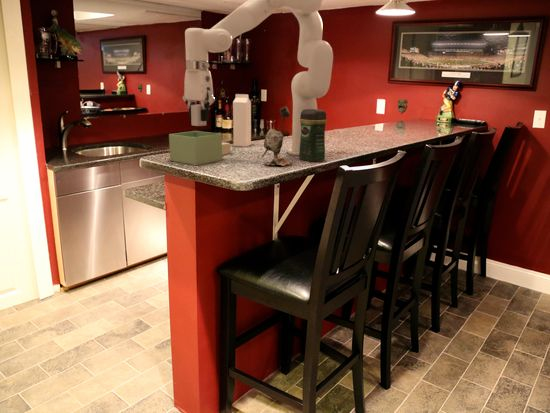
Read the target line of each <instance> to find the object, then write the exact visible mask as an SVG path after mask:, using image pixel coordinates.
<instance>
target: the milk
mask: <svg viewBox="0 0 550 413" xmlns="http://www.w3.org/2000/svg"><path fill="white" fill-rule="evenodd" d="M232 119H233V120H232V124H233V127H232V128H233V129H232V131H233V132H232V133H233V134H232V135H233V147H249V146H251V145H252V101H251V99H250V98H249V94H245V93H236V94H235V98H234V100H233V101H232Z"/></svg>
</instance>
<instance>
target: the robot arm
mask: <svg viewBox="0 0 550 413" xmlns="http://www.w3.org/2000/svg"><path fill="white" fill-rule="evenodd" d="M323 4H324V0H246V1H245V2H244V3H242V4H241V5H239V6H238V7H237V8H236V9H235V10H233V11H232V12H231V13H230V14H228V15H226V16H225V17H224V18H223V19H221V20H220V21H219V22H217V23H216V24H215V25H213V26H212V27H211V28H209V29H208V28H205V29H204V28H200V27H189V28H186V29H185V31H184V42H185V44H184V46H185V69H186V70H185V72H184V73H185V74H184V82H183V83H184V87H183V90H184V91H183V92H184V93H183V96H182V100H183V101H184V103H185V104H186V107H187V109H188V120H189V121H191V105H197V101H198V102H200V105H201V106H202V109H203V110H201V121H206V122H208V121H209V120H210V117H209V116H210V115H209V110H210V109H211V106H212V105H213V104H214V103H215V101H216V99H215V97H214V87H213V86H214V84H213V78H212V74H211V71H210V70H209V68H210V66H211V65H210V63H209V53H212V54H213V53H214V54H216V53H223V52H227V51H228V50H229V49H230V48H231V47H232V44H233V40H234V39H236V37H238V36H241V35H242V34H244V33H246V32H250V31H251V30H253V29H254V28H257V26H259V25H260V24H261V23H262V22H264V21H265V20H266V19H268V17H269V16H271V15H272V14H273V13H275V12H277V10H278V9H280V8H283V7H284V8H285V7H286V8H288V9H289V11H290V12H291V13H292V14H293V15H294V17H295V18H296V19H297V21H298V25H299V38H298V46H297V49H298V50H297V62H298V64H299V65H300V66H301V67H303V68H306V69H307V68H308V69H307V70H305V71H300V72H298V73H296V74H295V75H294V76H293V78H292V80H291V83H290V84H291V86H290V88H291V96H292V127H291V128H292V129H291V131H292V132H291V148H289V149H287V154H289V155H293V156H299V151H300V139H301V122H300V116H301V112H302V111H303V110H305V109H317V110H318V103H317V99H320V98H323V97H324V96H326V94H327V93H328V91H329V89H330V86H331V80H332V73H333V72H332V71H333V64H334V51H333V48H332V46H331V44H330V43H329V42H328V41H326V40H323V20H322V17H321V15H320V13H319V10H320V9H322V6H323Z"/></svg>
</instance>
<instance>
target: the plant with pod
mask: <svg viewBox="0 0 550 413" xmlns="http://www.w3.org/2000/svg"><path fill="white" fill-rule="evenodd" d="M279 113H280V116H281V118H282V122H281V131H279V130H276V129H274V128H270V129H269V130H268V131H267V133H266V135H265V138H264V140H263V147H264V149H265V151H264V153H262V155H261V158H264V156H265V155H266V154H267V153H268V151H270V152H272V153H273V158H272V160H271V161H269V162H267V163H265V165H267V166H275V165H279V166H283V167H285V166H287V165H288V164H289V165H293V162H289V161H287V160H286V158H285V157H281V155H280V153H281V150H282V147H283V143H284V142H283V141H284V134H283V129H284V123H285V118H288V119H291V115H290V114H291V113H290V111H289V108H288V107H287V106H284V107H281V108H280V109H279Z"/></svg>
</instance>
